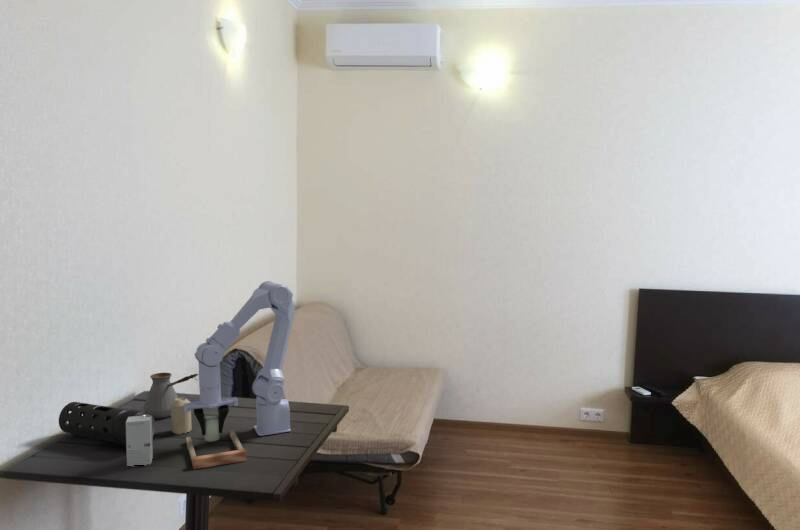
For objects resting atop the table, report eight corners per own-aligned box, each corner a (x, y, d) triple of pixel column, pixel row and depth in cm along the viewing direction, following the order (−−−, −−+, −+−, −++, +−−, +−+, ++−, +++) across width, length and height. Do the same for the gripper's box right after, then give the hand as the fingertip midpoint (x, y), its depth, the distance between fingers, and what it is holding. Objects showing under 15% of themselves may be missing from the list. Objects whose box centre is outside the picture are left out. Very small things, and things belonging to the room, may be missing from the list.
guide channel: (234, 435, 192) (234, 427, 192) (246, 460, 174) (246, 451, 174) (186, 442, 187) (185, 434, 187) (193, 469, 169) (193, 459, 168)
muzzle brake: (86, 430, 198) (84, 396, 197) (158, 443, 187) (157, 407, 186) (58, 441, 189) (56, 406, 188) (133, 455, 178) (131, 418, 177)
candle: (185, 435, 193) (184, 401, 192) (168, 434, 194) (166, 400, 193) (195, 428, 198) (193, 396, 197) (178, 427, 199) (176, 395, 198)
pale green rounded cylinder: (218, 435, 188) (217, 414, 188) (220, 440, 185) (219, 419, 184) (204, 437, 187) (203, 416, 186) (205, 442, 183) (204, 421, 182)
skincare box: (126, 467, 170) (124, 422, 169) (129, 460, 174) (127, 416, 173) (151, 465, 171) (149, 420, 170) (154, 458, 176) (152, 414, 175)
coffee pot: (135, 417, 209) (133, 371, 207) (163, 406, 219) (161, 362, 217) (186, 427, 200) (184, 378, 198) (213, 415, 210) (211, 369, 208)
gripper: (184, 393, 178) (186, 441, 179) (238, 386, 183) (240, 433, 185) (181, 386, 184) (184, 433, 186) (234, 380, 190) (236, 425, 191)
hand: (212, 433), depth 186 cm, fingers closed on pale green rounded cylinder, 4 cm apart
